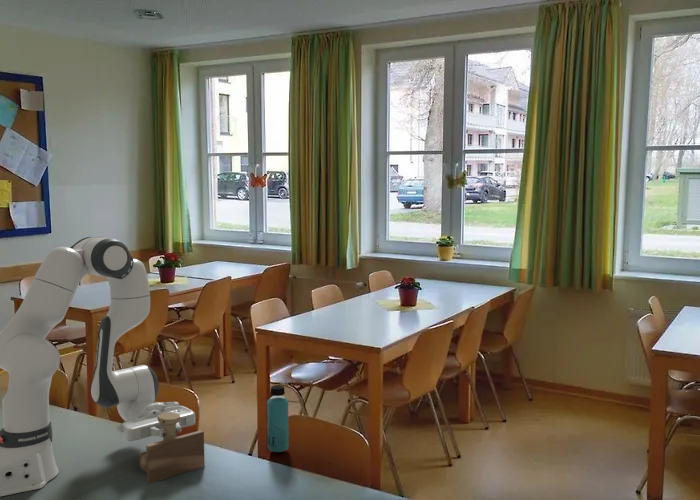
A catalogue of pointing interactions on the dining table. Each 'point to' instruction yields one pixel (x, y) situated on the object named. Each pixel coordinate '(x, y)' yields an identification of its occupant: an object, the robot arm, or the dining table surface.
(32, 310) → the robot arm
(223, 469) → the dining table surface
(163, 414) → the handle
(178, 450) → the wooden drawer
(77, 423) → the dining table surface
